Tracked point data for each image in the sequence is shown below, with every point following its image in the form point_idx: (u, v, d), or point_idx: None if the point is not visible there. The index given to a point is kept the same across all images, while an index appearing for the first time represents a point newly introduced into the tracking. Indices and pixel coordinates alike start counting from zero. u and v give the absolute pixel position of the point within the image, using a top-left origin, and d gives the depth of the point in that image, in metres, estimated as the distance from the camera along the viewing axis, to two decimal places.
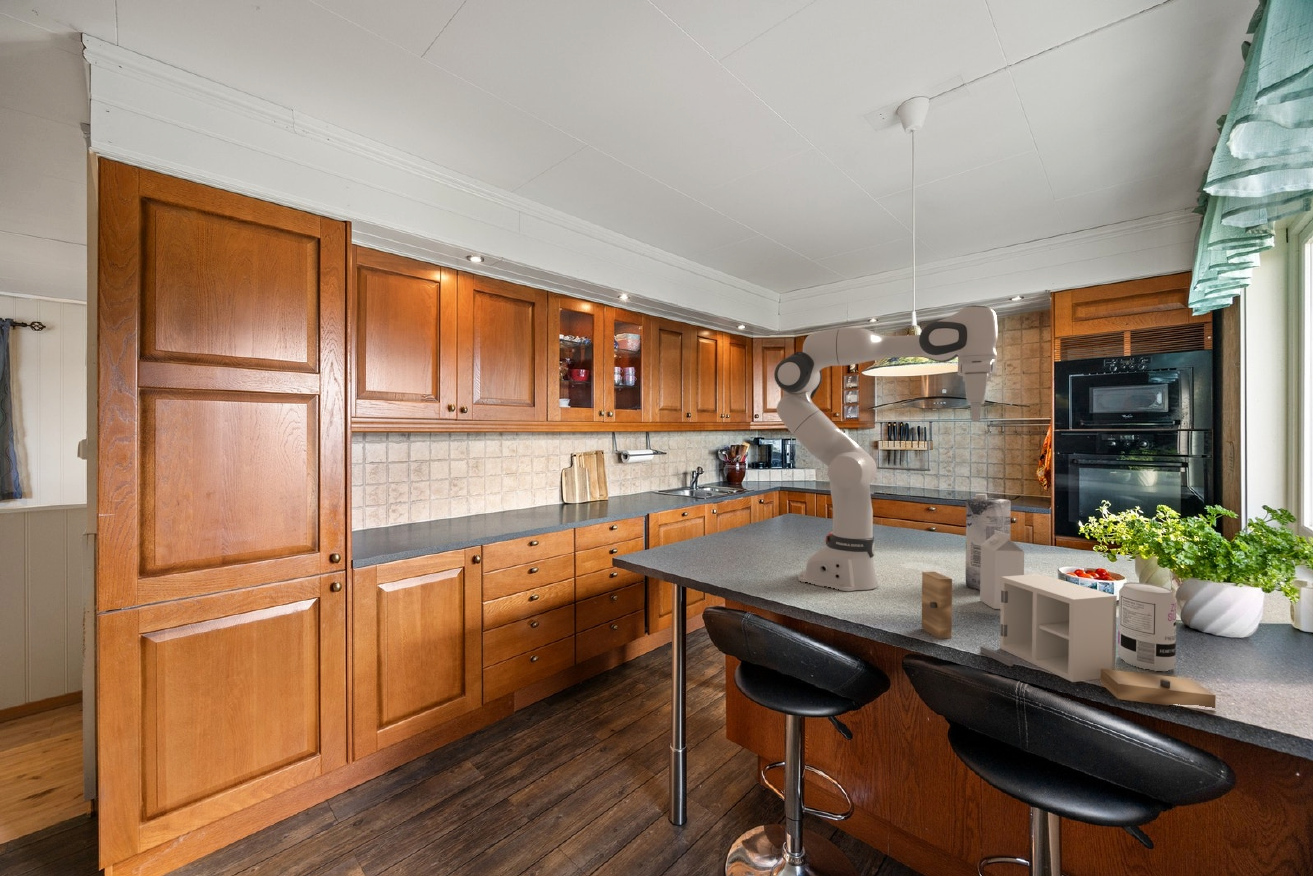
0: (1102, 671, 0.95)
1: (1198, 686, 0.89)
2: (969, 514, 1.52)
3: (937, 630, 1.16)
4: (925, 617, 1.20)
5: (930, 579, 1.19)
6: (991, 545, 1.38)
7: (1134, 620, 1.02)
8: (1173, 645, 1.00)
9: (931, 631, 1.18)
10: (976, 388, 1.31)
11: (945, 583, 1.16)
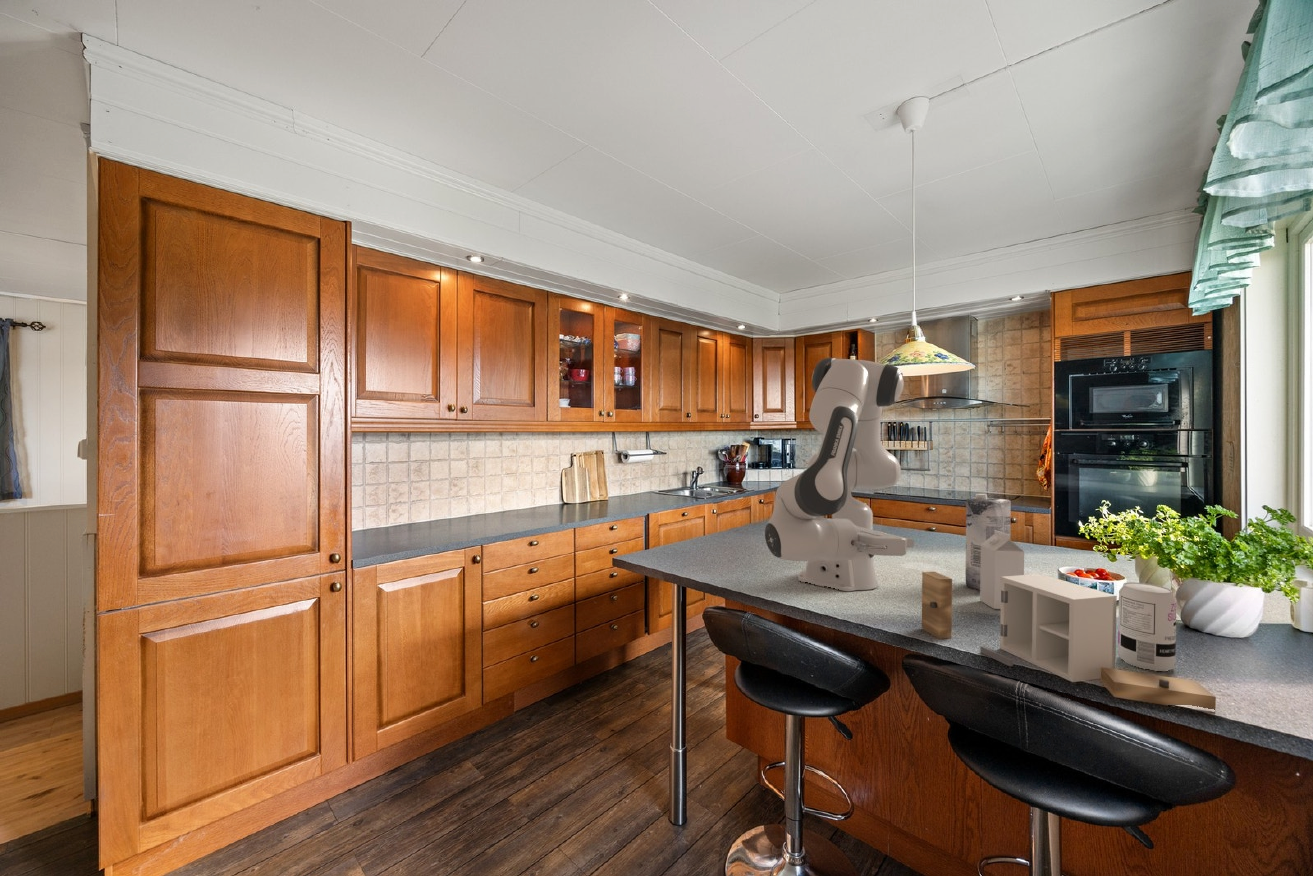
0: (1102, 670, 0.96)
1: (1199, 688, 0.89)
2: (969, 514, 1.52)
3: (937, 630, 1.16)
4: (925, 617, 1.20)
5: (930, 579, 1.19)
6: (991, 545, 1.38)
7: (1134, 620, 1.02)
8: (1173, 645, 1.00)
9: (931, 631, 1.18)
10: None
11: (945, 583, 1.16)
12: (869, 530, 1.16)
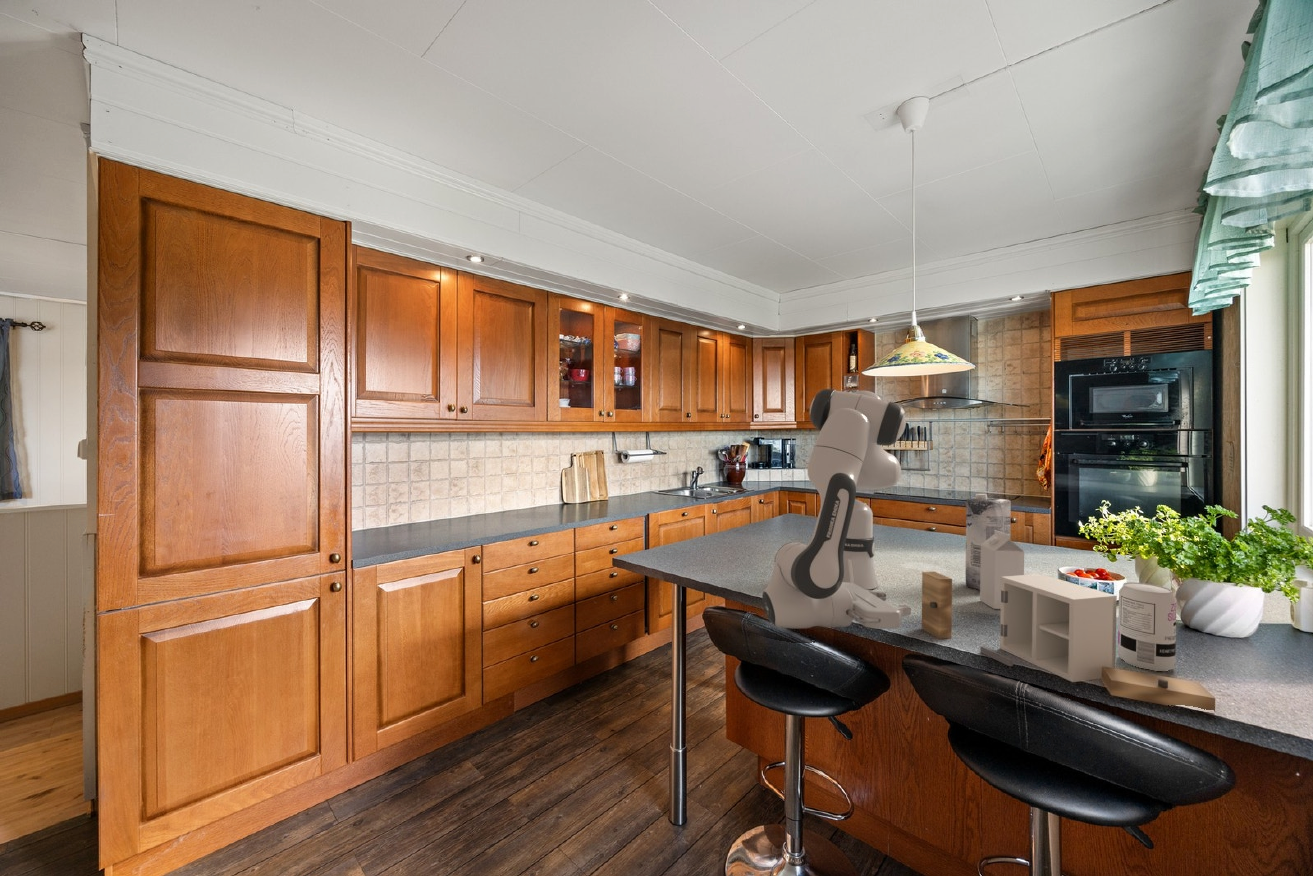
0: (1102, 669, 0.96)
1: (1201, 689, 0.88)
2: (969, 514, 1.52)
3: (937, 630, 1.16)
4: (925, 617, 1.20)
5: (930, 579, 1.19)
6: (991, 545, 1.38)
7: (1134, 620, 1.02)
8: (1173, 645, 1.00)
9: (931, 631, 1.18)
10: None
11: (945, 583, 1.16)
12: (867, 595, 1.17)
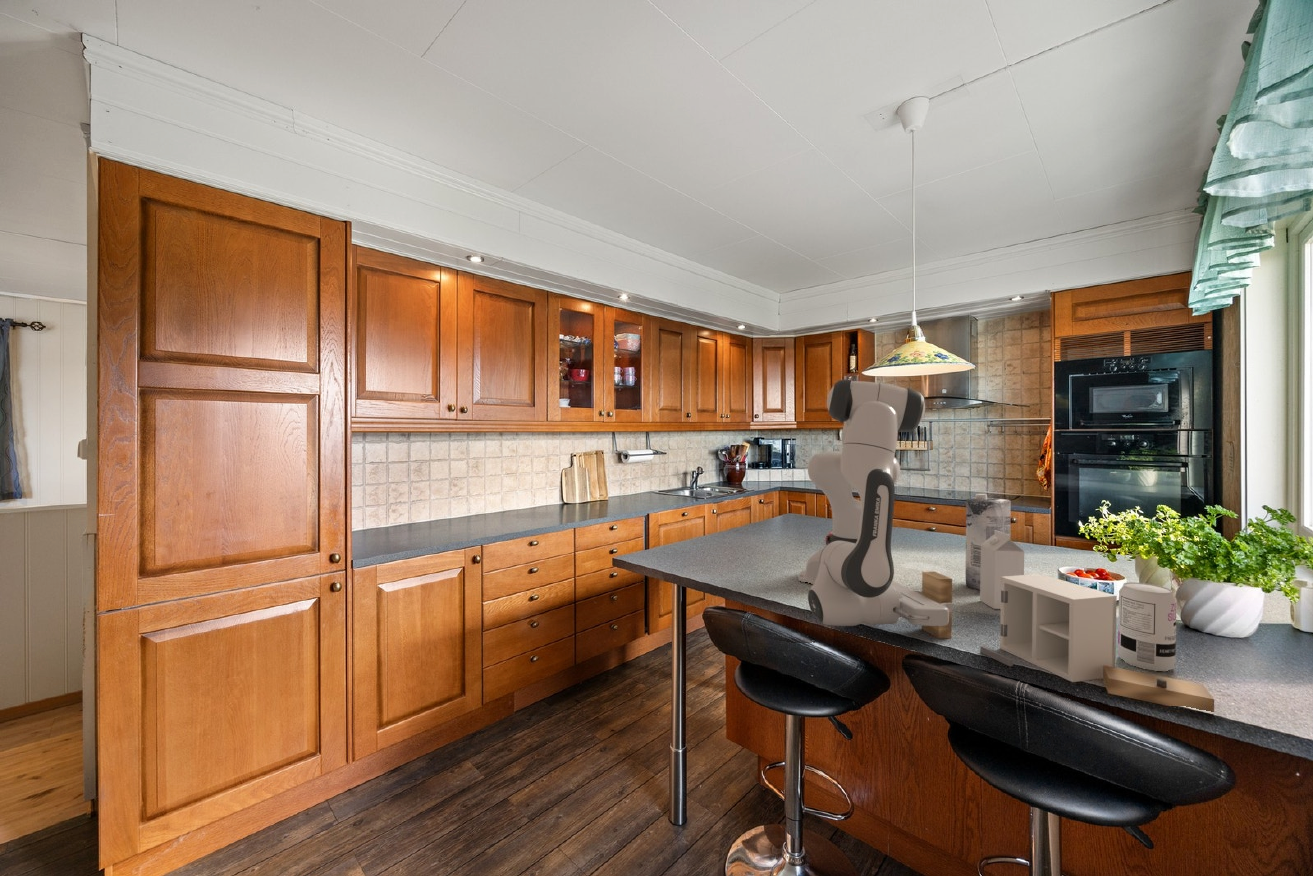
0: (1103, 668, 0.97)
1: (1202, 691, 0.88)
2: (969, 514, 1.52)
3: (937, 630, 1.16)
4: None
5: (930, 579, 1.19)
6: (991, 545, 1.38)
7: (1134, 620, 1.02)
8: (1173, 645, 1.00)
9: (931, 631, 1.18)
10: None
11: (945, 583, 1.16)
12: (911, 593, 1.19)
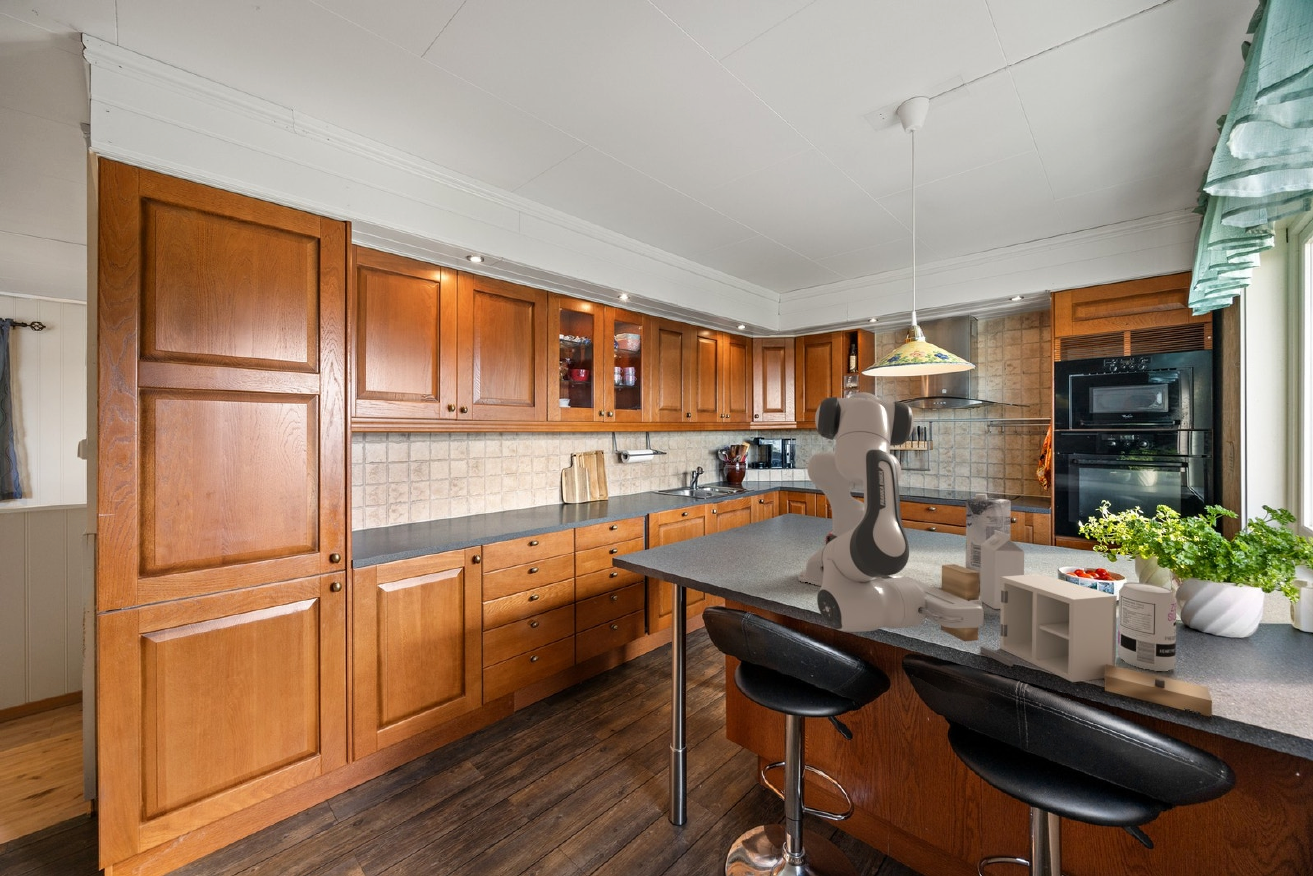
0: None
1: (1203, 692, 0.87)
2: (969, 514, 1.52)
3: (962, 632, 1.01)
4: None
5: (953, 573, 1.03)
6: (991, 545, 1.38)
7: (1134, 620, 1.02)
8: (1173, 645, 1.00)
9: (954, 633, 1.03)
10: None
11: (971, 577, 1.01)
12: (933, 590, 1.03)
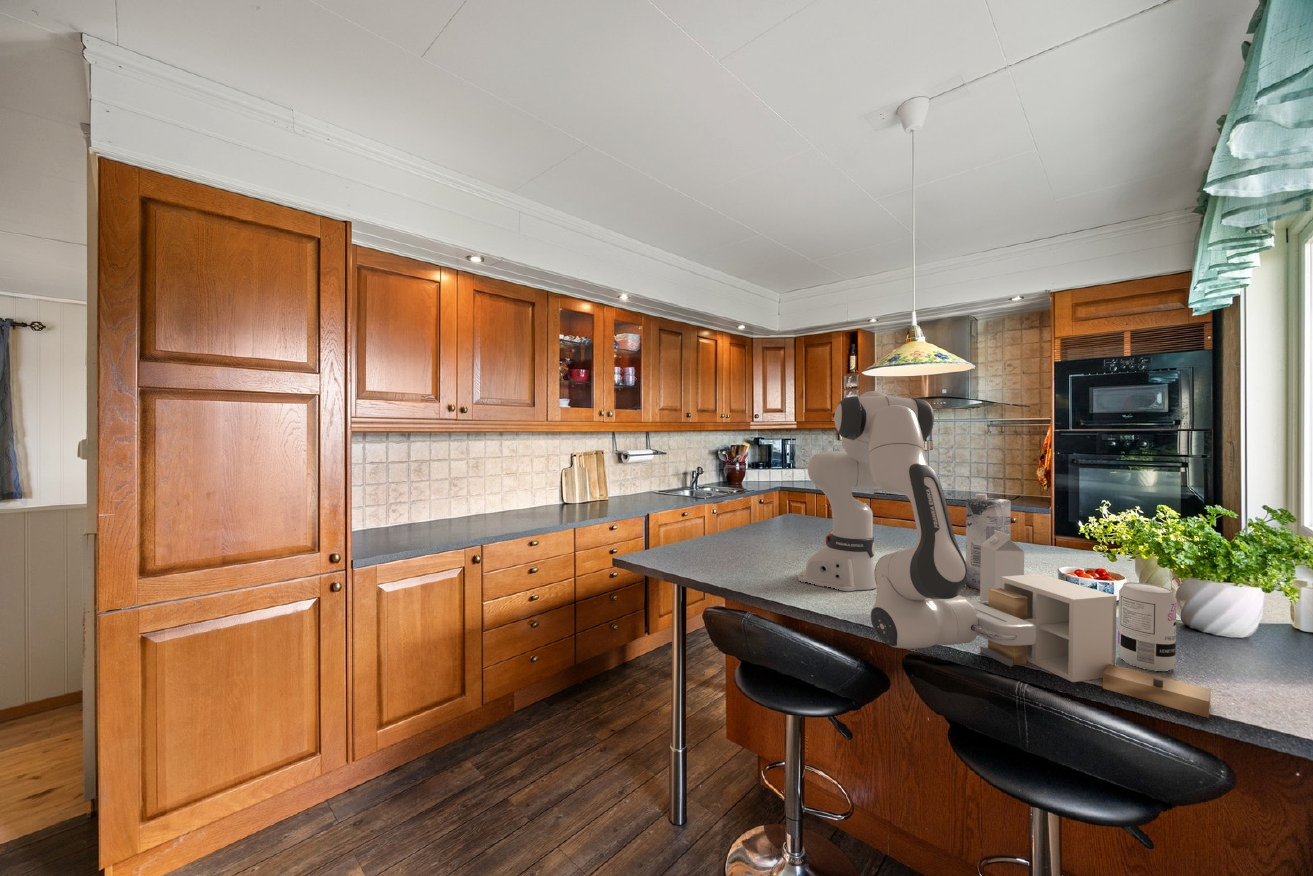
0: (1108, 666, 0.98)
1: (1203, 694, 0.87)
2: (969, 514, 1.52)
3: (1011, 655, 1.04)
4: None
5: (1000, 597, 1.06)
6: (991, 545, 1.38)
7: (1134, 620, 1.02)
8: (1173, 645, 1.00)
9: None
10: None
11: (1020, 602, 1.03)
12: (982, 606, 1.05)
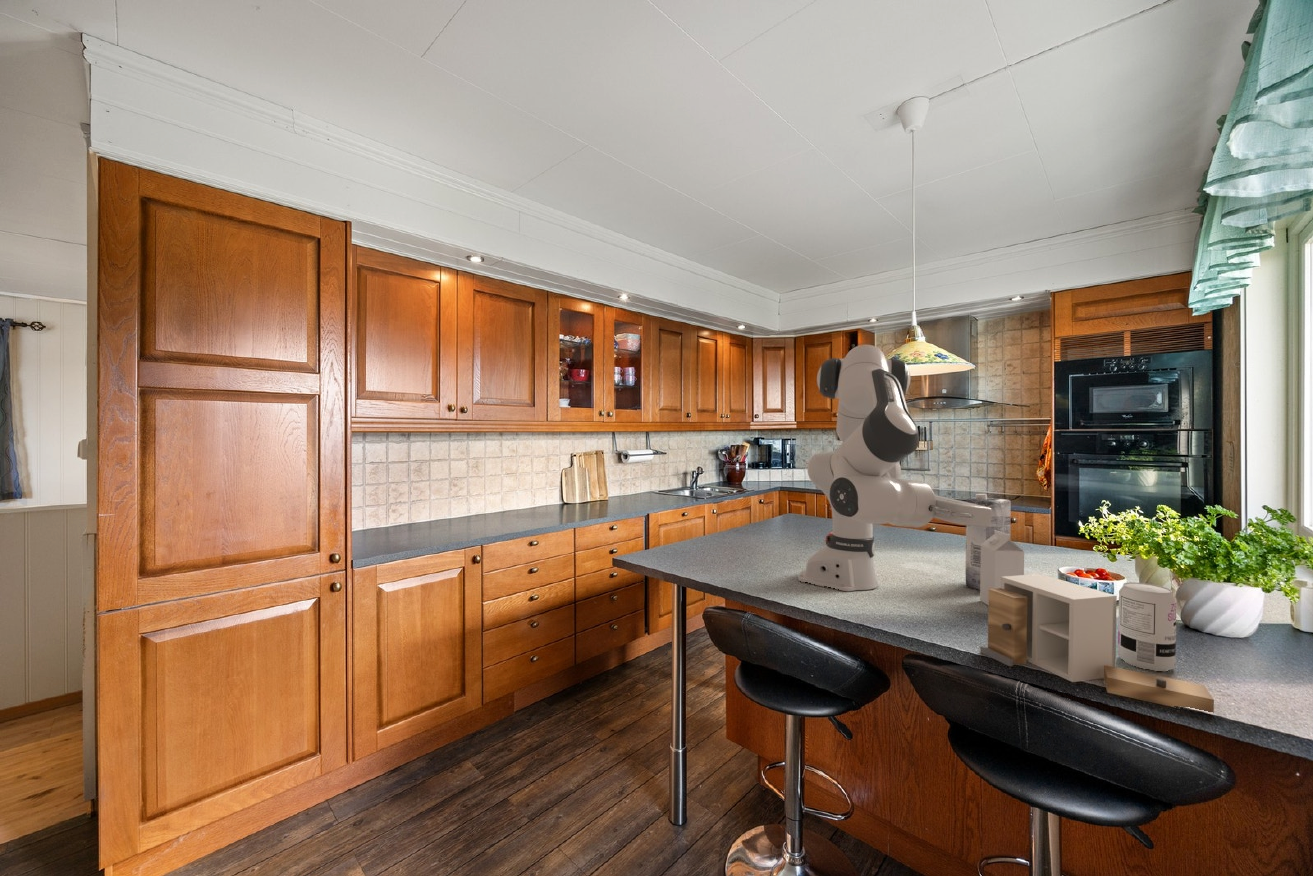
0: (1104, 667, 0.97)
1: (1202, 691, 0.88)
2: None
3: (1011, 655, 1.04)
4: (994, 640, 1.07)
5: (1000, 597, 1.06)
6: (991, 545, 1.38)
7: (1134, 620, 1.02)
8: (1173, 645, 1.00)
9: None
10: None
11: (1020, 602, 1.03)
12: (940, 496, 1.04)
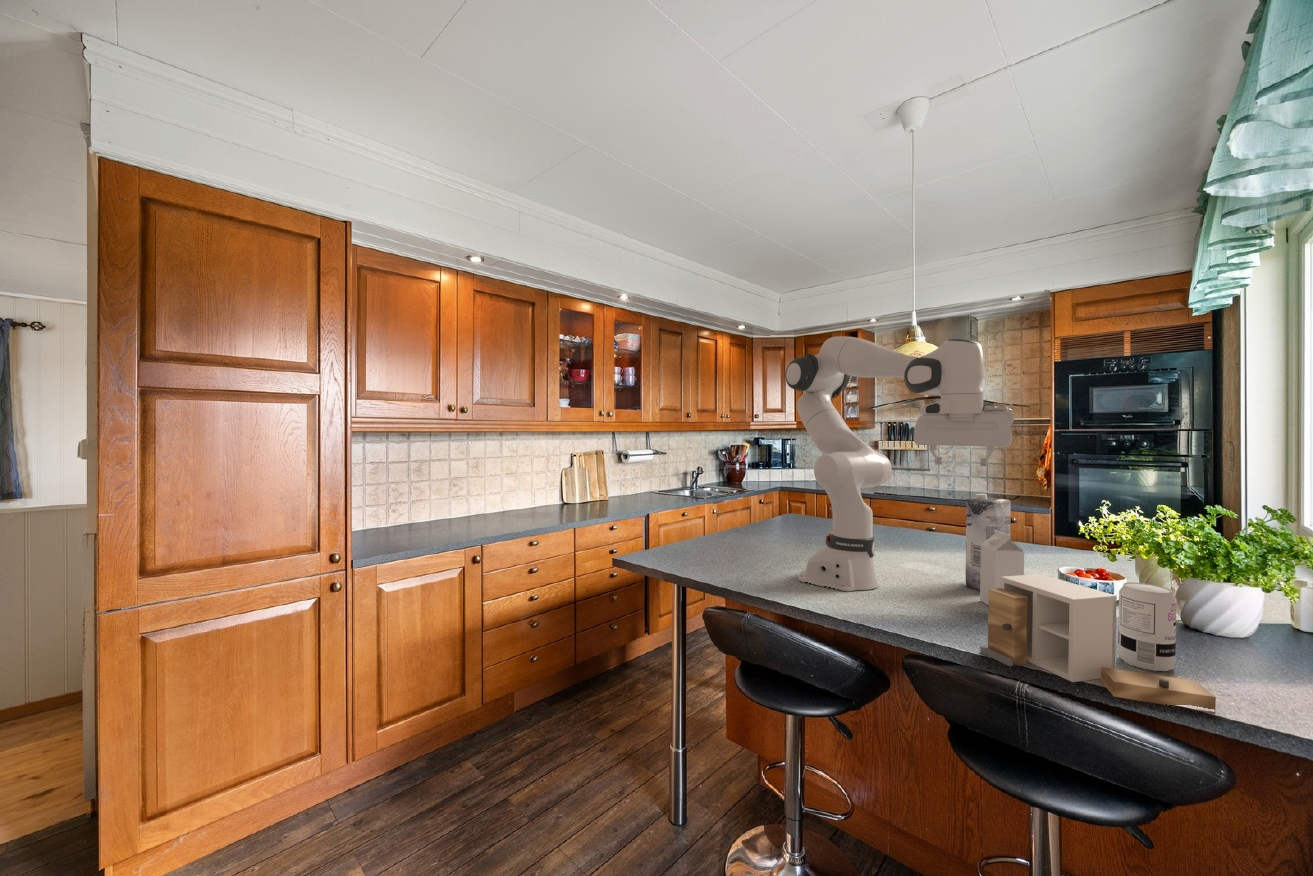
0: (1102, 669, 0.96)
1: (1200, 688, 0.89)
2: (969, 514, 1.52)
3: (1011, 655, 1.04)
4: (994, 640, 1.07)
5: (1000, 597, 1.06)
6: (991, 545, 1.38)
7: (1134, 620, 1.02)
8: (1173, 645, 1.00)
9: None
10: None
11: (1020, 602, 1.03)
12: None
